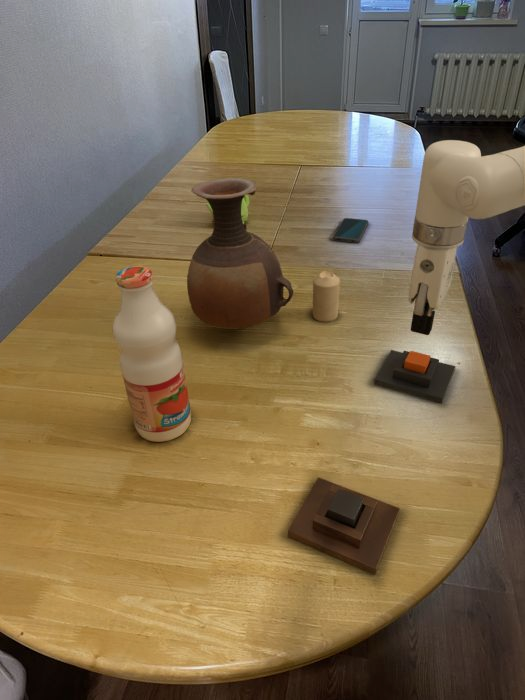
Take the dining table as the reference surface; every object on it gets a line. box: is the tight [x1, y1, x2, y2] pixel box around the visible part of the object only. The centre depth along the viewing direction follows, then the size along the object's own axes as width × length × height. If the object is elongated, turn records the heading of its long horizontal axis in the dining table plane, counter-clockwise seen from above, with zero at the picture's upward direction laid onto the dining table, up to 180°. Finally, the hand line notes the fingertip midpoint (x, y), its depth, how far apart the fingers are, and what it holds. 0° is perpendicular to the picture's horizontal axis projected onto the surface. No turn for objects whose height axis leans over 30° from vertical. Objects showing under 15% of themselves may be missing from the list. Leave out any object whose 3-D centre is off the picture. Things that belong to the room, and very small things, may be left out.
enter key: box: [404, 350, 431, 374], centre depth 92 cm, size 4×4×2 cm
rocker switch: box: [327, 489, 364, 528], centre depth 67 cm, size 4×4×2 cm
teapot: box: [205, 194, 251, 224], centre depth 155 cm, size 12×12×10 cm
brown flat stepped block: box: [287, 477, 401, 575], centre depth 68 cm, size 12×10×3 cm
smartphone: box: [332, 217, 369, 244], centre depth 148 cm, size 8×15×1 cm, turn 160°
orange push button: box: [373, 349, 456, 404], centre depth 93 cm, size 12×10×3 cm
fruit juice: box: [112, 265, 192, 443], centre depth 79 cm, size 9×9×28 cm
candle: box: [312, 270, 341, 322], centre depth 110 cm, size 6×6×10 cm
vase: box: [186, 177, 294, 330], centre depth 101 cm, size 23×19×30 cm
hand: (420, 330), depth 88 cm, fingers closed
